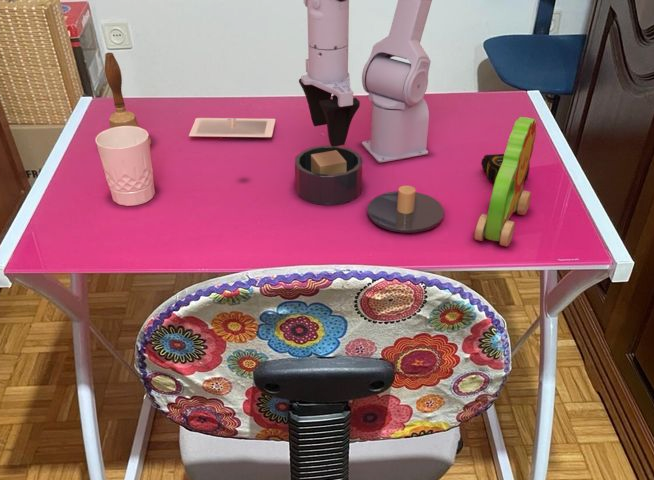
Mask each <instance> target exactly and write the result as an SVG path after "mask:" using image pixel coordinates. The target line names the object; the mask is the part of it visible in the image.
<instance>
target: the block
mask: <svg viewBox="0 0 654 480" xmlns="http://www.w3.org/2000/svg"><path fill="white" fill-rule="evenodd" d="M346 168H347V162H346V161H345V159H344V158H343V157H342V156H341V155H340V154H339V152H338V151H337V150H334V151H328V152H322V153H317V154H311V172H313V173H318V174H329V175H334V174H340V173H345V172H346Z"/></svg>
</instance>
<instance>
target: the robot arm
mask: <svg viewBox="0 0 654 480" xmlns="http://www.w3.org/2000/svg"><path fill="white" fill-rule="evenodd" d="M432 3H433V0H397V4H396V7H395V11H394V14H393V15H394V16H393V18H392V21H391V25H390V29H389V32H388V33H389V34H388V35H387V36H385V38H383V39H381V40H380V41H378V42H376V43H375V44H374V45H373V46H372V49H371V52H370V55H369V57H368V59H367V61H366V62H365V64H364V67H363V69H362V73H361V83H362V88H363V90H364V91H365V93H367V94H368V97H367V98H368V101H371V113H370V114H371V115H370V117H371V118H370V119H371V120H370V139H369V140H364V141H362V142H361V146H362V147H363V148H364V149H365V150H366V151H367V152H368V153H369V154H370V155H371V156H372V158H374V160H375V161H376V162H377V163H379V164H382V163H387V162H392V161H398V160H405V159H410V158H417V157H420V156H426V155H428V154H429V151H428V150H427V146H428V145H427V144H428V137H429V135H428V134H429V124H430V111H429V106H428V103H427V101H426V99H425V98H424V96H425V94H426V92H427V90H428V85H429V72H430V67H431V62H432V60H431V58H430V57H429V55H428V54H427V52H426V51H425V50H424V48H423V46H422V45H421V42H422V37H423V34H424V31H425V27H426V23H427V20H428V16H429V12H430V10H431V6H432ZM303 4H304V6H305V7H306V8H307V48H308V49H307V51H308V53H307V55H308V56H307V58H306V59H305V72H306V73H307V74H305V75H301V77H300V78H299V79H298V84H299V85H300V87H301V89H302V91H303V94H304V95H305V98H306V102H307V106H308V110H309V114H310V119H311V122H312V125H313V126H314V127H321V126H325V125H326V127H327V136H328V142H329V146H332V147H335V146H340V147H342V146H345V143H346V140H347V137H348V133H349V129H350V127H351V124H352V120H353V119H354V116H355V114H356V113H357V111H358V109H359V108H360V106H361V101H360V100H359V99H358V98H357V97H354V91H353V90H352V88H351V77H350V73H349V36H350V35H349V29H350V28H349V27H350V25H349V24H350V0H303ZM394 57H396V58H401V59H403V60H407V61H408V62H406V61H402V60H399V59H395V58H394Z"/></svg>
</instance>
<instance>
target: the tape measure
mask: <svg viewBox="0 0 654 480" xmlns="http://www.w3.org/2000/svg"><path fill="white" fill-rule="evenodd" d="M503 158H504V153H495V154H486V155H484V156H483V157H482V158H481V164H480V165H481V167H482V172H483V173H484V174H486V177H487V179H488V180H489V181H491V183H495V180H496V177H497V174H498V171H499V169H500V167H501V165H502V162H503ZM530 164H531V163H529V167H528V171H527V173H526V175H525V179H524V183H525V182H526V181H527V179H528V177H529V174H530V166H531V165H530Z"/></svg>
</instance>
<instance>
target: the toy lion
mask: <svg viewBox="0 0 654 480" xmlns="http://www.w3.org/2000/svg"><path fill="white" fill-rule="evenodd" d="M536 134H537V121H536V120H535V118H531V117H526V116H519V117H518V119H516V120H515V122H514V123H513V126H512V129H511V132H510V134H509V136H508V140H507V144H506V148H505V150H504V153H503V154H504V158H503V162H502V165H501V167H500V169H499V171H498V174H497V177H496V180H495V183H494V182H493V183H494V184H493V187H492V192H491V195H490V199H489V205H488V210H487V214H485V213H482V214H480V216H479V218H478V220H477V222H476V225H475V230H474V237H473V238H474V240H475V241H479V242H483V241H484V239H486V240H489V241H494V242H499V246H501V247H502V246H503V247H506V248H507V247H509V245H510V244H511V242H512V240H513V237H514V233H515V229H516V228H515V227H516V225H515V224H516V223H515V221H512V220H510V218H511V217H512V215H513V214H514V213H516V214H517V215H521V216H525V215H526V214H527V212H528V209H529V207H530V204H531V198H532V192H531V191H529V190H525V189H524V190H523V187H524V183H525V182H524V179H525V175H526V173H527V171H528V167H529V163H530V162H531V159H532V155H533V151H534V145H535V140H536ZM530 164H531V163H530ZM529 168H530V167H529Z"/></svg>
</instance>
